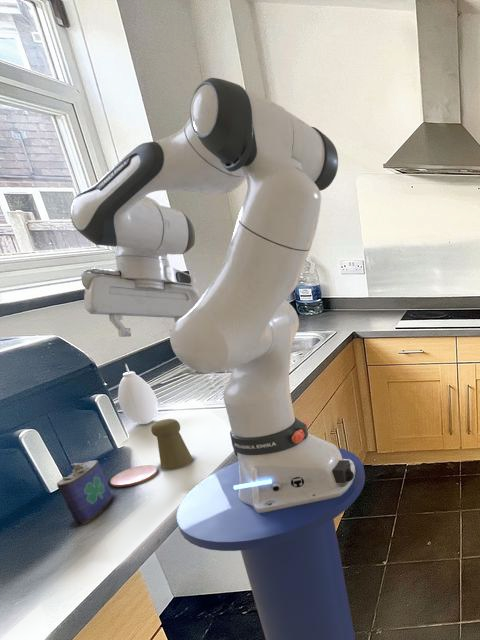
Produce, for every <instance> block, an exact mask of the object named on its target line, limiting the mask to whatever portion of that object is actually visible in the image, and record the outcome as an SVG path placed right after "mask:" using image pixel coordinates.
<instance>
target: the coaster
mask: <svg viewBox="0 0 480 640" xmlns="http://www.w3.org/2000/svg"><path fill="white" fill-rule="evenodd" d="M158 470H159V469H158V467H156V466H155V465H152V464H151V465H146V464H145V465H139V466H134V467H132V468H128V469H125V470H123V471H121V472H119V473H116V474H115V475H114V476H113V477H112V478H111V479H110V480H109V483H110V485H111V486H112V487H115V488H126V487H131V486H135V485H138V484H141V483H144V482H146V481H148V480H150V479H152V478H153V477H155V476H156V475H157V473H158Z"/></svg>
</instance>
